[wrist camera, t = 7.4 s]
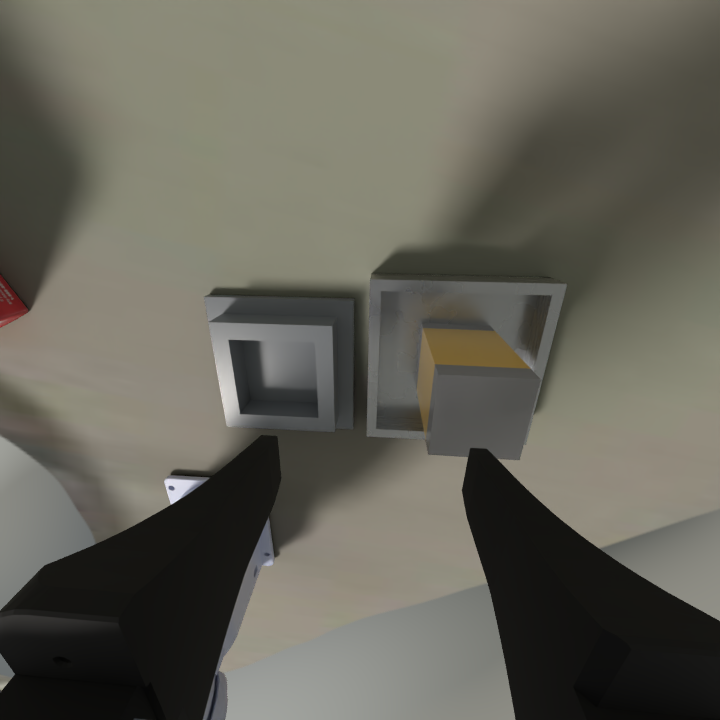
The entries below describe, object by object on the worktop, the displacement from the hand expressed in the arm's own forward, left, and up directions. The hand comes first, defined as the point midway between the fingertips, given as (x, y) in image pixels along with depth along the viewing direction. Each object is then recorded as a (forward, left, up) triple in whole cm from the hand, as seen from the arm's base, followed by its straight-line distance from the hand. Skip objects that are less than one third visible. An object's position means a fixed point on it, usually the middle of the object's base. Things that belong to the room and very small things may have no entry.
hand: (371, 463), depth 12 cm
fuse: (+1, -5, -9) cm, 10 cm away
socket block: (-1, +6, -10) cm, 11 cm away
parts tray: (0, -5, -10) cm, 11 cm away
